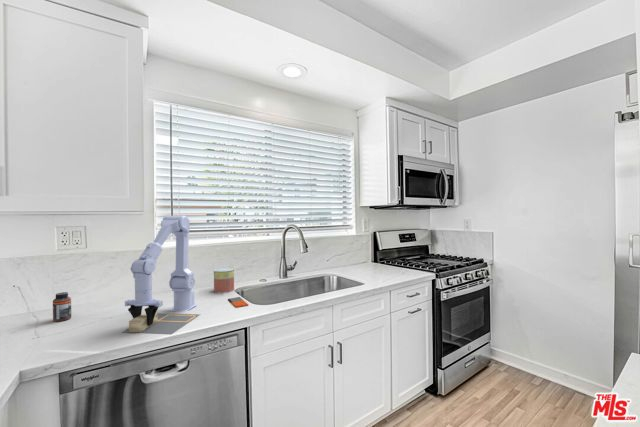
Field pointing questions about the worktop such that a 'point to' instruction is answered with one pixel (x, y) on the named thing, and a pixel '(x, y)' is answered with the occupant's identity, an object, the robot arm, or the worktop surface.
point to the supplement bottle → (61, 307)
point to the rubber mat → (168, 323)
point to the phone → (237, 302)
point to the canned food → (223, 280)
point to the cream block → (141, 323)
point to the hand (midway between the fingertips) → (144, 324)
